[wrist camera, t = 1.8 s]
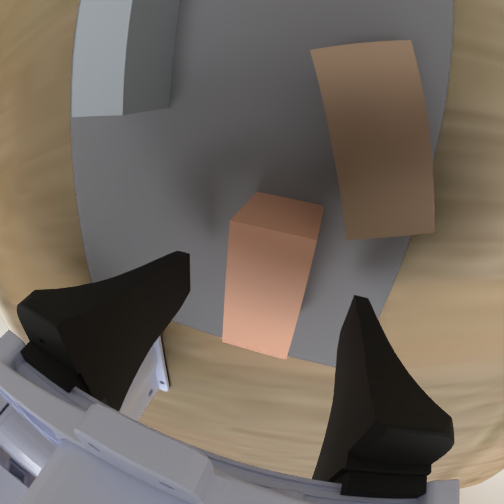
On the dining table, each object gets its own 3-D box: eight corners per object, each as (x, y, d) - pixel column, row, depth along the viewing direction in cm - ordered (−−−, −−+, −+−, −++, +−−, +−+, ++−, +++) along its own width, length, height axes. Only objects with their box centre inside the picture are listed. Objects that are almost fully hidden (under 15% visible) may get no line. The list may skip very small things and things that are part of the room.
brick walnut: (414, 199, 12) (434, 233, 9) (346, 206, 13) (346, 240, 10) (393, 56, 9) (411, 39, 6) (319, 64, 10) (310, 49, 7)
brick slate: (169, 108, 13) (122, 115, 10) (120, 108, 14) (71, 117, 11) (181, -10, 10) (137, -29, 7) (130, 1, 10) (83, -10, 7)
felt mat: (352, 366, 18) (351, 370, 18) (96, 287, 22) (93, 290, 22) (449, -36, 6) (451, -39, 5) (90, -30, 10) (86, -31, 9)
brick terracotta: (299, 312, 17) (286, 359, 14) (244, 298, 17) (222, 341, 14) (324, 205, 13) (316, 240, 10) (256, 191, 14) (229, 220, 11)
